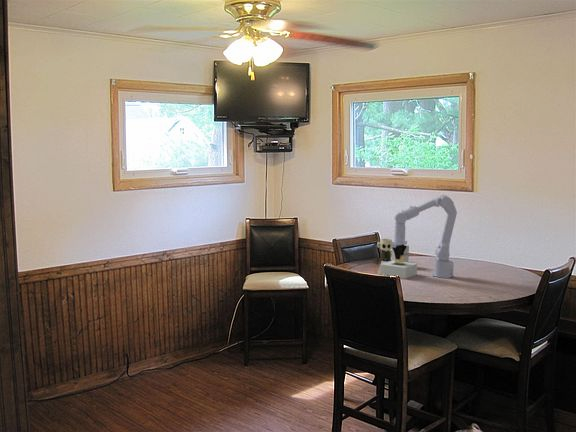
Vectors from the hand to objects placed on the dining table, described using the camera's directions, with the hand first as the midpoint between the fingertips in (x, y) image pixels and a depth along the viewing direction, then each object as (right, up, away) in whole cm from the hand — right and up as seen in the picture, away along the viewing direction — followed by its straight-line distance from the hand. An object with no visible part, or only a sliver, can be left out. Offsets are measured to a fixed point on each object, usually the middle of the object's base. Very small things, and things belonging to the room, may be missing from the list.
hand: (399, 258), depth 342 cm
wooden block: (0, -2, 0) cm, 2 cm away
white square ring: (0, -9, +1) cm, 9 cm away
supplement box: (+5, -6, +25) cm, 26 cm away
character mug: (-1, -4, +42) cm, 42 cm away
